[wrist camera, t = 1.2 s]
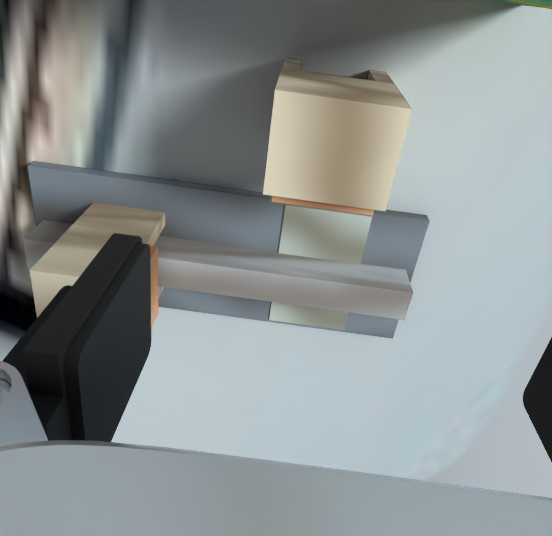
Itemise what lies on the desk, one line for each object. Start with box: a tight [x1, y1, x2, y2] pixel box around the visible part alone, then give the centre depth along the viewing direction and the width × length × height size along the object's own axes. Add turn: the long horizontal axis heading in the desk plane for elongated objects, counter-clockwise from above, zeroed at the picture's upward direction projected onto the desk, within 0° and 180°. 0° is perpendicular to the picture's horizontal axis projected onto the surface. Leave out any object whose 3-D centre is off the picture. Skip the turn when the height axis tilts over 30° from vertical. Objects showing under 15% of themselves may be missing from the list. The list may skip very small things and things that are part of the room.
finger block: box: [263, 58, 412, 216], centre depth 24 cm, size 5×5×8 cm
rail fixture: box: [23, 161, 429, 338], centre depth 29 cm, size 9×24×9 cm, turn 83°
